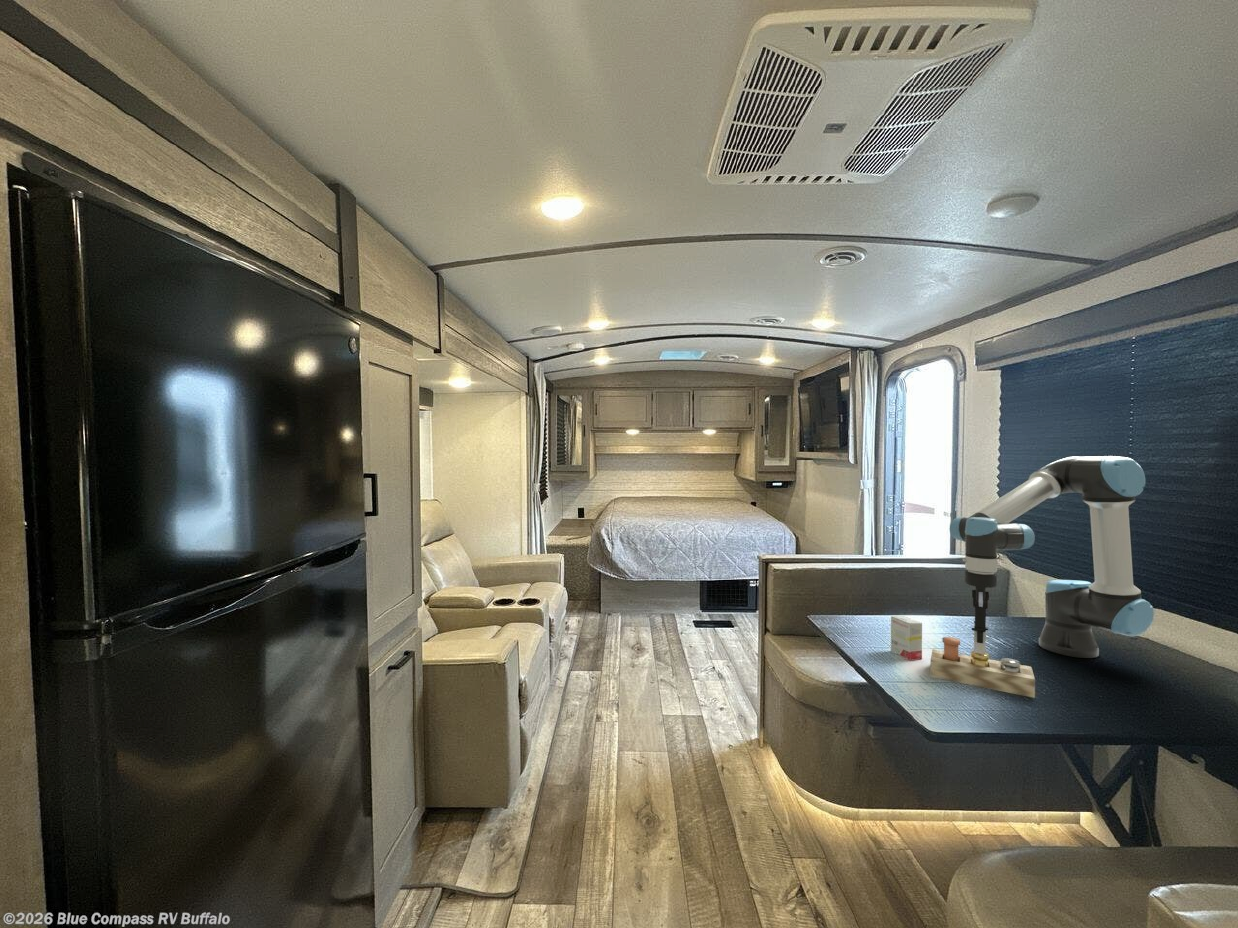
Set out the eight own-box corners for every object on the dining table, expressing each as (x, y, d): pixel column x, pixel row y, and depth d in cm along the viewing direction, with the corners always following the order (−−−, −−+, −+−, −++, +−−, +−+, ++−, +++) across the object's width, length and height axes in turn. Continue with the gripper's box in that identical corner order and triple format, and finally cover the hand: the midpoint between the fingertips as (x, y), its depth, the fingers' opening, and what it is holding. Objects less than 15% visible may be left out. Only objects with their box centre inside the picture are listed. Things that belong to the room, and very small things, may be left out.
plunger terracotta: (960, 660, 154) (960, 638, 153) (959, 665, 150) (960, 643, 150) (942, 657, 156) (942, 635, 156) (942, 662, 152) (942, 640, 152)
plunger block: (1031, 684, 147) (1031, 666, 146) (1034, 697, 138) (1035, 679, 138) (932, 665, 160) (932, 649, 160) (930, 676, 152) (930, 659, 152)
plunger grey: (1019, 682, 146) (1019, 660, 146) (1020, 688, 142) (1021, 665, 142) (1000, 679, 148) (1000, 656, 148) (1001, 684, 145) (1001, 661, 145)
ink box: (923, 659, 165) (923, 622, 165) (910, 660, 164) (910, 623, 163) (902, 649, 173) (902, 614, 173) (890, 650, 172) (890, 615, 172)
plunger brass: (989, 675, 150) (989, 652, 150) (989, 680, 146) (989, 657, 146) (970, 671, 152) (970, 649, 152) (970, 676, 149) (970, 654, 148)
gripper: (965, 565, 156) (964, 643, 156) (964, 574, 145) (963, 657, 146) (995, 569, 152) (994, 648, 152) (997, 577, 141) (996, 663, 141)
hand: (979, 652), depth 149 cm, fingers closed
